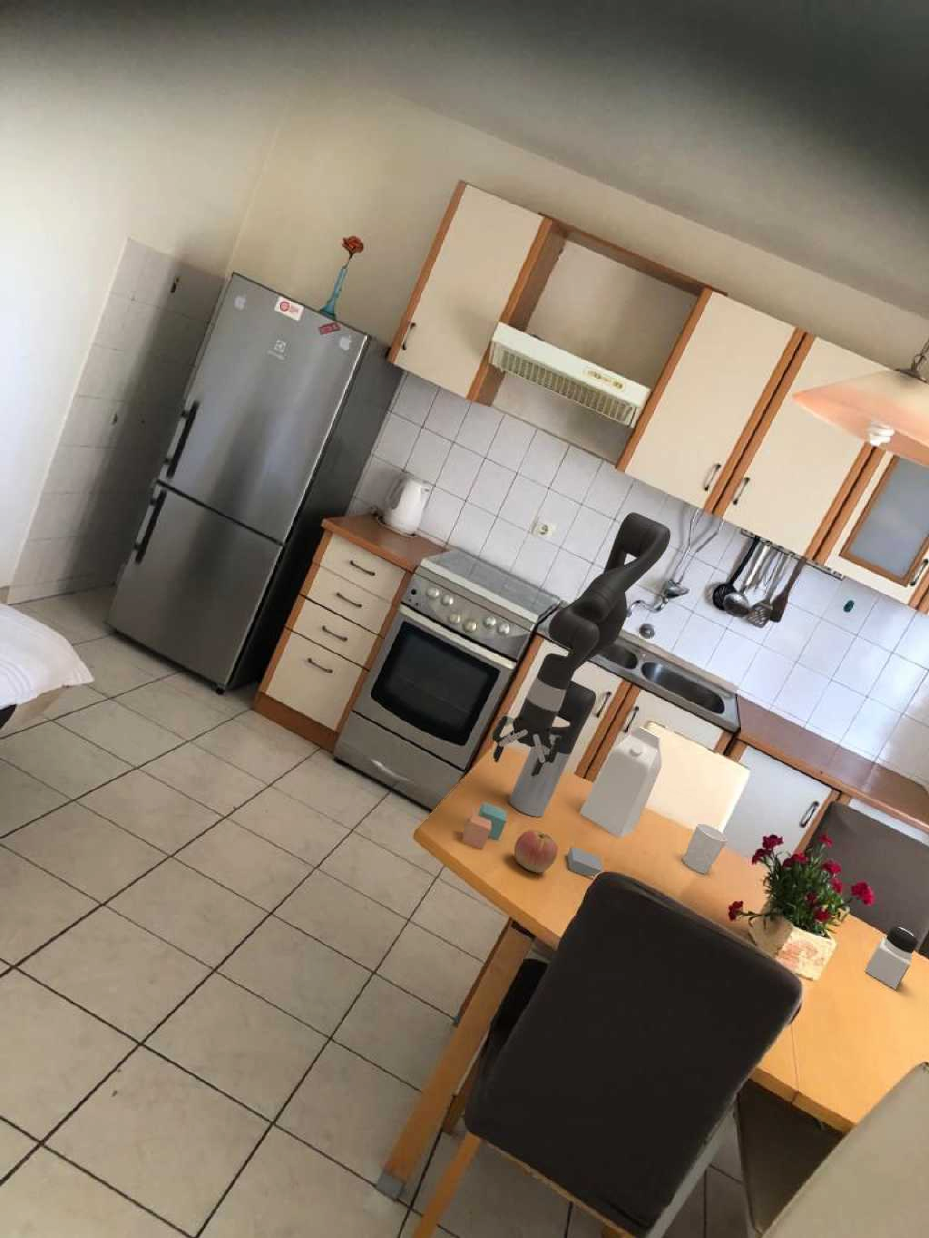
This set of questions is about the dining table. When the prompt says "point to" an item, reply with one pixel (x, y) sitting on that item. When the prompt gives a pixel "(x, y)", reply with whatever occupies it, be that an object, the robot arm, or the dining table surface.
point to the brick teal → (493, 819)
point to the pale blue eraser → (583, 862)
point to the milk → (625, 783)
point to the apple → (535, 850)
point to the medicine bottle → (892, 957)
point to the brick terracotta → (476, 831)
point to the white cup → (704, 848)
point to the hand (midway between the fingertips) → (514, 767)
